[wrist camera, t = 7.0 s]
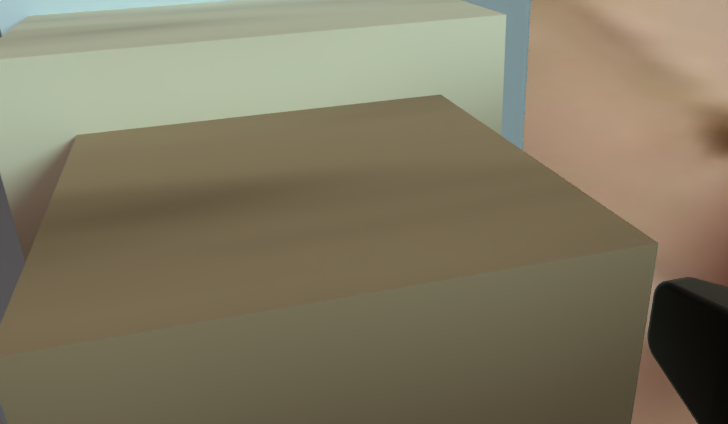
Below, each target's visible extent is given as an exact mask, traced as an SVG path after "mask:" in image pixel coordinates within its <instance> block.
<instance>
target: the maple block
mask: <svg viewBox="0 0 728 424" xmlns="http://www.w3.org/2000/svg"><path fill="white" fill-rule="evenodd" d="M505 36H506V14H503V13H500V12H496V11H493V10H490V9H487V8H484V7H481V6H477V5H474V4H471V3H468V2H465V1H462V0H229V1H216V2H203V3H190V4H177V5H164V6H151V7H138V8H125V9H112V10H98V11H85V12H72V13H59V14H46V15H33V16H28V17H27V18H25V19H24V20H23V21H21V22H20V23H19V24H18V25H16V26H15V27H14V28H12V29H11V30H10V31H8V32H7V33H6V34H5V35H3V36H2V37H1V38H0V174H1V178H2V181H3V185H4V188H5V192H6V196H7V199H8V203H9V206H10V210H11V213H12V217H13V220H14V224H15V228H16V231H17V235H18V238H19V242H20V245H21V249H22V252H23V256H24V260H25V262H26V260H27V257H28V255H29V252H30V250H31V247H32V245H33V243H34V240H35V238H36V235H37V233H38V230H39V228H40V225H41V223H42V220H43V218H44V215H45V213H46V210H47V208H48V205H49V203H50V200H51V198H52V195H53V193H54V191H55V188H56V186H57V183H58V181H59V178H60V176H61V173H62V171H63V168H64V166H65V163H66V161H67V158H68V156H69V153H70V151H71V148H72V146H73V143H74V141H75V139H76V136H77V135H81V134H90V133H99V132H108V131H117V130H126V129H135V128H144V127H153V126H162V125H171V124H180V123H189V122H198V121H207V120H216V119H225V118H234V117H242V116H251V115H260V114H269V113H278V112H287V111H296V110H305V109H314V108H323V107H332V106H341V105H350V104H359V103H368V102H377V101H386V100H395V99H404V98H413V97H422V96H431V95H440V94H441V95H442V96H444V97H445V98H447V99H448V100H450V101H451V102H453V103H454V104H455V105H457V106H458V107H460V108H461V109H463V110H464V111H466V112H467V113H469V114H470V115H472V116H473V117H474V118H476V119H477V120H479V121H480V122H482V123H483V124H485V125H486V126H488V127H489V128H491V129H492V130H493V131H495V132H496V133H498V134H499V135H501V131H502V108H503V84H504V60H505Z"/></svg>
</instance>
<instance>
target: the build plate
mask: <svg viewBox="0 0 728 424" xmlns="http://www.w3.org/2000/svg"><path fill="white" fill-rule="evenodd" d="M216 1H229V0H0V38H1V37H2V36H3V35H5V34H6V33H7V32H8V31H10V30H11V29H12V28H14V27H15V26H16V25H18V24H19V23H20V22H21V21H23V20H24V19H25V18H27V17H28V16H33V15H46V14H59V13H72V12H85V11H98V10H112V9H125V8H138V7H151V6H164V5H177V4H190V3H203V2H216ZM462 1H465V2H468V3H471V4H474V5H477V6H481V7H484V8H487V9H490V10H493V11H496V12H500V13H503V14H506V36H505V60H504V84H503V108H502V131H501V136H502V137H504V138H505V139H507V140H508V141H510V142H511V143H512V144H514V145H515V146H517V147H518V148H520V149H521V150H523V132H524V114H525V96H526V78H527V60H528V43H529V25H530V7H531V0H462ZM24 265H25V260H24V256H23V252H22V249H21V245H20V242H19V238H18V235H17V231H16V228H15V224H14V220H13V217H12V213H11V210H10V206H9V203H8V199H7V196H6V192H5V188H4V185H3V181H2V178H1V174H0V324H1V322H2V319H3V317H4V314H5V312H6V309H7V307H8V304H9V302H10V299H11V297H12V295H13V292H14V290H15V287H16V285H17V282H18V280H19V277H20V275H21V272H22V270H23V267H24ZM0 422H1V424H8V423H7V420H6V417H5V414H4V411H3V408H2V405H1V402H0Z"/></svg>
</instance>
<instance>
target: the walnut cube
mask: <svg viewBox="0 0 728 424" xmlns="http://www.w3.org/2000/svg"><path fill="white" fill-rule="evenodd" d="M657 248H658V243H657V242H656V241H654V240H653V239H651V238H650V237H648V236H647V235H645V234H644V233H643V232H641V231H640V230H638V229H637V228H635V227H634V226H632V225H631V224H629V223H628V222H626V221H625V220H624V219H622V218H621V217H619V216H618V215H616V214H615V213H613V212H612V211H610V210H609V209H607V208H606V207H605V206H603V205H602V204H600V203H599V202H597V201H596V200H594V199H593V198H591V197H590V196H588V195H587V194H586V193H584V192H583V191H581V190H580V189H578V188H577V187H575V186H574V185H572V184H571V183H569V182H568V181H567V180H565V179H564V178H562V177H561V176H559V175H558V174H556V173H555V172H553V171H552V170H550V169H549V168H548V167H546V166H545V165H543V164H542V163H540V162H539V161H537V160H536V159H534V158H533V157H531V156H530V155H529V154H527V153H526V152H524V151H523V150H521V149H520V148H518V147H517V146H515V145H514V144H512V143H511V142H510V141H508V140H507V139H505V138H504V137H502V136H501V135H499V134H498V133H496V132H495V131H493V130H492V129H491V128H489V127H488V126H486V125H485V124H483V123H482V122H480V121H479V120H477V119H476V118H474V117H473V116H472V115H470V114H469V113H467V112H466V111H464V110H463V109H461V108H460V107H458V106H457V105H455V104H454V103H453V102H451V101H450V100H448V99H447V98H445V97H444V96H442V95H441V94H440V95H431V96H422V97H413V98H404V99H395V100H386V101H377V102H368V103H359V104H350V105H341V106H332V107H323V108H314V109H305V110H296V111H287V112H278V113H269V114H260V115H251V116H242V117H234V118H225V119H216V120H207V121H198V122H189V123H180V124H171V125H162V126H153V127H144V128H135V129H126V130H117V131H108V132H99V133H90V134H81V135H77V136H76V139H75V141H74V143H73V146H72V148H71V151H70V153H69V156H68V158H67V161H66V163H65V166H64V168H63V171H62V173H61V176H60V178H59V181H58V183H57V186H56V188H55V191H54V193H53V195H52V198H51V200H50V203H49V205H48V208H47V210H46V213H45V215H44V218H43V220H42V223H41V225H40V228H39V230H38V233H37V235H36V238H35V240H34V243H33V245H32V247H31V250H30V252H29V255H28V257H27V260H26V262H25V265H24V267H23V270H22V272H21V275H20V277H19V280H18V282H17V285H16V287H15V290H14V292H13V295H12V297H11V299H10V302H9V304H8V307H7V309H6V312H5V314H4V317H3V319H2V322H1V324H0V402H1V405H2V408H3V411H4V414H5V417H6V420H7V423H8V424H631V419H632V412H633V405H634V399H635V392H636V386H637V379H638V373H639V366H640V360H641V353H642V346H643V340H644V333H645V327H646V320H647V314H648V307H649V300H650V294H651V287H652V281H653V274H654V268H655V261H656V254H657Z"/></svg>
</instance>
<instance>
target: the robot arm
mask: <svg viewBox="0 0 728 424" xmlns="http://www.w3.org/2000/svg"><path fill="white" fill-rule="evenodd" d="M648 344H649V348H650V350H651V353H652V355H653V357H654V358H655V360H656V361H657V363H658V364H659V366H660V367H661V369H662V370H663V372H664V373H665V375H666V376H667V378H668V379H669V381H670V382H671V384H672V385H673V387H674V388H675V390H676V391H677V393H678V394H679V396H680V398H681V399H682V401H683V402H684V404H685V405H686V407H687V408H688V410H689V411H690V413H691V414H692V416H693V417H694V419H695V420H696V422H697V423H698V424H728V287H725V286H721V285H718V284H714V283H711V282H707V281H703V280H700V279H696V278H692V277H684V278H679V279H674V280H668V281H664V282H662V283H660V284H659V285H658V286H657V287H656V289H655V292H654V296H653V303H652V309H651V316H650V322H649V329H648Z"/></svg>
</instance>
